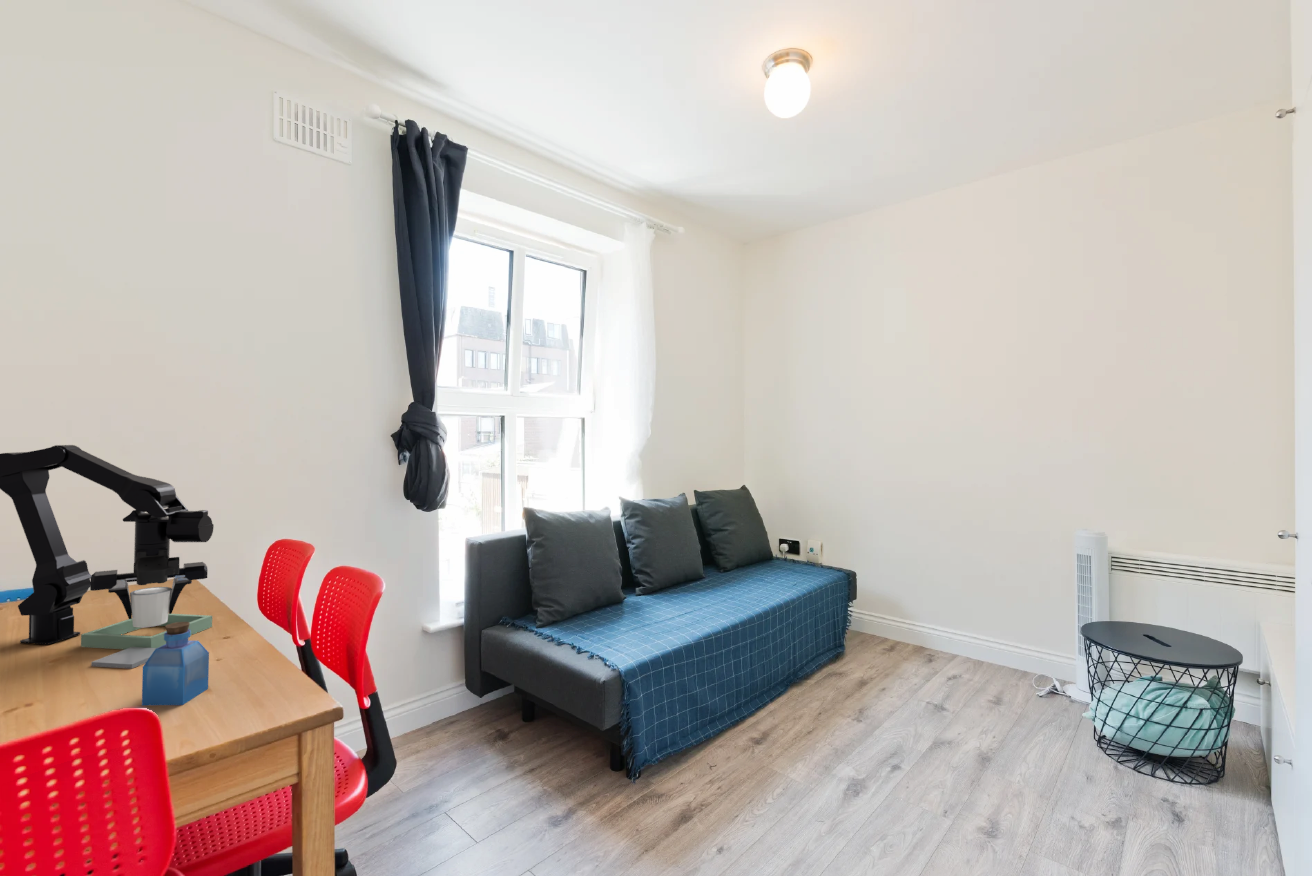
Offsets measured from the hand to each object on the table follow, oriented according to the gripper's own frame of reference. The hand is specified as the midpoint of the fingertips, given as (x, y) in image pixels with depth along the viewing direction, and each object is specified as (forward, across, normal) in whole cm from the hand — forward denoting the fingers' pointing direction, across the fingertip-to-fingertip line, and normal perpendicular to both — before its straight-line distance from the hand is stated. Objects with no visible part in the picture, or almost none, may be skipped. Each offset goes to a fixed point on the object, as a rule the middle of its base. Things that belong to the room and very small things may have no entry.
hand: (150, 616), depth 127 cm
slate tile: (+4, -3, -14) cm, 15 cm away
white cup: (+2, 0, 0) cm, 2 cm away
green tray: (+4, 0, 0) cm, 4 cm away
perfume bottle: (+4, +3, -39) cm, 39 cm away
